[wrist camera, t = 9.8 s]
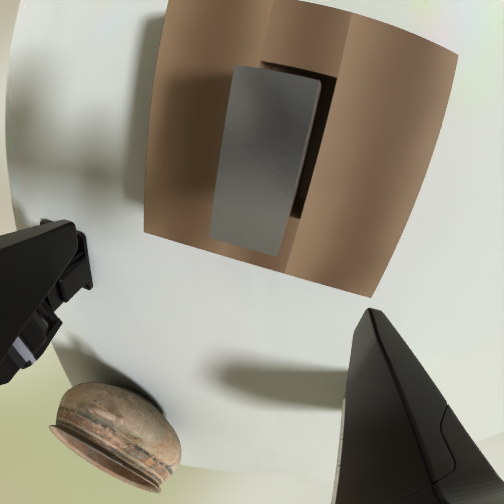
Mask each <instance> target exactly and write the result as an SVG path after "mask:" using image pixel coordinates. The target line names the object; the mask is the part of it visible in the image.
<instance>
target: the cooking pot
mask: <svg viewBox="0 0 504 504" xmlns="http://www.w3.org/2000/svg"><path fill="white" fill-rule="evenodd" d="M49 428H50V430H51V431H52V433H53V434H54V435H55V436H56V437H57V438H58V439H59V440H60V441H61V442H63V443H64V444H65V445H66V446H67V447H68V448H70V449H71V450H72V451H74V452H75V453H76V454H78V455H79V456H80V457H82V458H83V459H85V460H86V461H88V462H89V463H91V464H93V465H94V466H96V467H97V468H99V469H101V470H102V471H104V472H106V473H108V474H109V475H111V476H113V477H115V478H117V479H119V480H121V481H124V482H125V483H128V484H130V485H132V486H135V487H138V488H140V489H143V490H146V491H149V492H153V493H161V489H160V488H159V485H161V484H162V483H163V482H164V481H166V480H167V479H168V478H169V477H170V476H171V475H172V474H173V473H174V471H175V470H176V469H177V467H178V465H179V463H180V460H181V445H180V441H179V438H178V436H177V434H176V432H175V431H174V429H173V427H172V426H171V425H170V424H169V422H168V421H167V420H166V419H165V417H164V416H163V415H162V414H161V413H160V412H159V410H158V409H157V408H156V406H155V405H154V404H153V403H152V402H151V401H150V400H149V399H148V398H147V397H145V396H144V395H142V394H140V393H139V392H137V391H135V390H132V389H129V388H126V387H118V386H114V385H109V384H104V383H96V382H89V383H81V384H78V385H76V386H74V387H72V388H71V389H69V390H68V391H67V392H66V393H65V394H64V395H63V397H62V399H61V402H60V405H59V408H58V412H57V419H56V425H50V426H49Z"/></svg>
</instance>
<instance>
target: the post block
mask: <svg viewBox="0 0 504 504" xmlns="http://www.w3.org/2000/svg"><path fill="white" fill-rule="evenodd" d="M457 60H458V54H456V53H454V52H452V51H450V50H448V49H446V48H444V47H442V46H440V45H438V44H435V43H433V42H431V41H429V40H427V39H424V38H422V37H420V36H418V35H415V34H413V33H410V32H408V31H405V30H403V29H400V28H398V27H395V26H392V25H389V24H387V23H384V22H381V21H378V20H375V19H372V18H369V17H365V16H362V15H359V14H355V13H352V12H348V11H344V10H340V9H336V8H332V7H328V6H324V5H319V4H314V3H309V2H304V1H298V0H169V1H168V6H167V10H166V15H165V19H164V24H163V29H162V35H161V40H160V45H159V51H158V57H157V63H156V70H155V77H154V84H153V92H152V100H151V109H150V118H149V129H148V140H147V154H146V170H145V194H144V232H145V233H149V234H152V235H155V236H159V237H162V238H165V239H169V240H172V241H175V242H179V243H182V244H185V245H189V246H192V247H196V248H199V249H202V250H206V251H209V252H212V253H216V254H219V255H223V256H226V257H229V258H233V259H236V260H240V261H243V262H246V263H250V264H253V265H257V266H260V267H264V268H267V269H271V270H274V271H277V272H281V273H284V274H288V275H291V276H295V277H298V278H302V279H305V280H309V281H312V282H316V283H319V284H323V285H326V286H330V287H333V288H337V289H341V290H344V291H348V292H351V293H355V294H358V295H362V296H366V297H369V298H371V297H372V295H373V293H374V291H375V289H376V287H377V286H378V284H379V282H380V280H381V278H382V276H383V274H384V271H385V269H386V267H387V265H388V263H389V261H390V259H391V257H392V255H393V253H394V250H395V248H396V246H397V244H398V242H399V239H400V237H401V235H402V233H403V230H404V228H405V226H406V223H407V221H408V218H409V216H410V214H411V211H412V209H413V206H414V204H415V201H416V199H417V196H418V193H419V191H420V188H421V186H422V183H423V180H424V177H425V175H426V172H427V169H428V166H429V163H430V160H431V157H432V154H433V151H434V148H435V145H436V142H437V139H438V135H439V132H440V129H441V125H442V122H443V118H444V115H445V111H446V107H447V104H448V100H449V96H450V92H451V88H452V83H453V79H454V74H455V70H456V65H457ZM235 65H241V66H248V67H255V68H261V69H267V70H273V71H278V72H283V73H288V74H293V75H298V76H302V77H307V78H311V79H315V80H319V81H320V82H321V85H322V91H321V95H320V99H319V104H318V108H317V112H316V117H315V121H314V125H313V129H312V134H311V138H310V142H309V146H308V150H307V154H306V158H305V163H304V167H303V171H302V175H301V179H300V183H299V187H298V190H297V193H296V197H295V200H294V203H293V206H292V210H291V213H290V216H289V220H288V223H287V226H286V229H285V232H284V236H283V239H282V242H281V245H280V248H279V252H278V255H277V257H275V256H272V255H268V254H265V253H261V252H257V251H254V250H250V249H247V248H243V247H239V246H236V245H232V244H229V243H225V242H222V241H218V240H214V239H211V238H209V233H210V225H211V217H212V209H213V201H214V193H215V186H216V179H217V172H218V165H219V158H220V151H221V145H222V138H223V132H224V125H225V119H226V113H227V107H228V101H229V95H230V90H231V84H232V78H233V73H234V67H235Z"/></svg>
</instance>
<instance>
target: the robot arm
mask: <svg viewBox="0 0 504 504" xmlns="http://www.w3.org/2000/svg"><path fill="white" fill-rule="evenodd" d="M82 287H83V288H85V289H87V290H91V289H92V288H93V282H92V276H91V270H90V264H89V257H88V250H87V242H86V237H85V235H84V234H82V233H80V232H77V231H76V227H75V224H74V223H73V222H71V221H68V220H59V221H55V222H50V221H47V220H43V221H41V222H40V225H39V226H35V227H31V228H27V229H23V230H19V231H16V232H12V233H9V234H5V235H1V236H0V385H2V384H6V383H8V382H9V381H10V380H11V379H12V378H13V376H14V375H15V374H16V373H17V371H18V370H19V369H20V368H21V369H25V368H27V367H29V366H31V365H32V364H33V363H34V362H35V361H37V360H38V358H39V357H40V356H41V355H42V354H43V353H44V351H45V350H46V348H47V346H48V345H49V343H50V342H51V340H52V339H53V337H54V335H55V334H56V332H57V331H58V329H59V328H60V326H61V325H62V323H63V322H62V321H61V320H60V318H58V317H57V316H56V314H55V313H54V311H55V310H56V309H57V308H58V307H59V306H60V305H61V304H62V303H63V302H65V303H66V302H68V301H69V300H70V299H71V298H72V297H73V296H74V295H75V294H76V293H77V292H78V291H79V290H80V289H81V288H82ZM335 504H504V482H503V480H501V478H500V477H499V476H498V475H497V473H496V472H495V470H494V469H493V468H492V466H491V465H490V463H489V462H488V461H487V459H486V458H485V456H484V455H483V454H482V452H481V451H480V450H479V448H478V447H477V446H476V444H475V443H474V441H473V440H472V438H471V437H470V436H469V434H468V433H467V432H466V430H465V429H464V427H463V426H462V424H461V423H460V421H459V420H458V418H457V417H456V415H455V414H454V412H453V411H452V409H451V407H450V406H449V405H447V401H446V400H445V398H444V397H443V395H442V394H441V392H440V391H439V389H438V388H437V386H436V385H435V384H434V382H433V381H432V379H431V378H430V376H429V375H428V373H427V372H426V371H425V369H424V368H423V366H422V365H421V363H420V362H419V361H418V359H417V358H416V356H415V355H414V354H413V352H412V351H411V349H410V348H409V347H408V345H407V344H406V342H405V341H404V340H403V338H402V337H401V336H400V334H399V333H398V332H397V330H396V329H395V328H394V326H393V325H392V324H391V322H390V321H389V320H388V318H387V317H386V316H385V314H384V313H383V312H382V311H381V310H377V309H373V308H368V309H366V311H365V312H364V314H363V316H362V318H361V319H360V321H359V323H358V325H357V327H356V329H355V331H354V334H353V341H352V348H351V356H350V363H349V370H348V376H347V383H346V399H345V416H344V430H343V442H342V452H341V462H340V471H339V479H338V487H337V494H336V501H335Z"/></svg>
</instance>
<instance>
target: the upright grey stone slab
mask: <svg viewBox="0 0 504 504" xmlns="http://www.w3.org/2000/svg"><path fill="white" fill-rule="evenodd" d="M321 91H322V85H321V82H320V81H319V80H315V79H311V78H307V77H302V76H298V75H293V74H288V73H283V72H278V71H273V70H267V69H261V68H255V67H248V66H241V65H235V67H234V73H233V78H232V84H231V90H230V95H229V101H228V107H227V113H226V119H225V125H224V132H223V138H222V145H221V151H220V158H219V165H218V172H217V179H216V186H215V193H214V201H213V209H212V217H211V225H210V233H209V238H211V239H214V240H218V241H222V242H225V243H229V244H232V245H236V246H239V247H243V248H247V249H250V250H254V251H257V252H261V253H265V254H268V255H272V256H275V257H277V255H278V252H279V248H280V245H281V242H282V239H283V236H284V232H285V229H286V226H287V223H288V220H289V216H290V213H291V210H292V206H293V203H294V200H295V197H296V193H297V190H298V187H299V183H300V179H301V175H302V171H303V167H304V163H305V158H306V154H307V150H308V146H309V142H310V138H311V134H312V129H313V125H314V121H315V117H316V112H317V108H318V104H319V99H320V95H321Z"/></svg>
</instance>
